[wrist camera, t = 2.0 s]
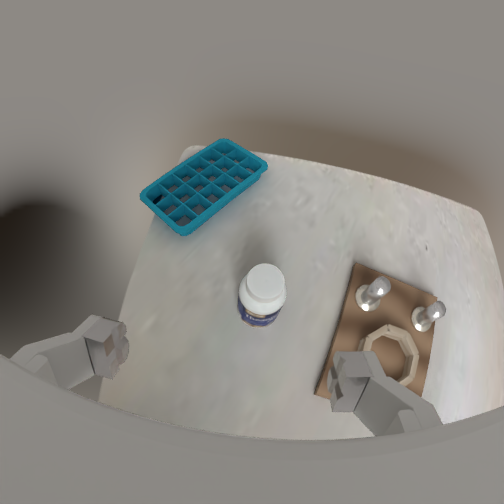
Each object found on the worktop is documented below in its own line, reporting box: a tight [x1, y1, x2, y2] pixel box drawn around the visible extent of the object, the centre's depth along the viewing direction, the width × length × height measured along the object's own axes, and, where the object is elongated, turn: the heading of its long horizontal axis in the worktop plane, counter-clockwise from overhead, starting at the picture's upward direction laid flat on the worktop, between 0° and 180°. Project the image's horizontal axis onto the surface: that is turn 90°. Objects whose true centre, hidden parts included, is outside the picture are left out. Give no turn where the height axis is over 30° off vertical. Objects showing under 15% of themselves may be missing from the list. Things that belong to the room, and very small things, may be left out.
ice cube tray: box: [140, 139, 268, 236], centre depth 46 cm, size 12×20×3 cm, turn 139°
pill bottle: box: [238, 263, 287, 328], centre depth 33 cm, size 5×5×10 cm
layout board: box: [314, 263, 437, 399], centre depth 34 cm, size 20×16×3 cm
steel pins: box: [355, 276, 446, 332], centre depth 34 cm, size 4×14×5 cm, turn 67°
